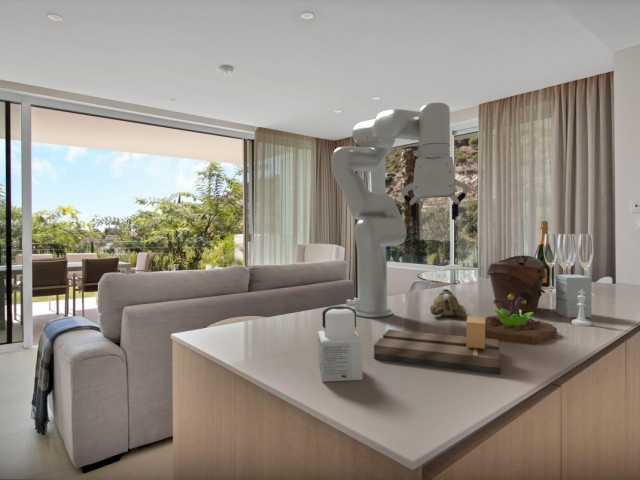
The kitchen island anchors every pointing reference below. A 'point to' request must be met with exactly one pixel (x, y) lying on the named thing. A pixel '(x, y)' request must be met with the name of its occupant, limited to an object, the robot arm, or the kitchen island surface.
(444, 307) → the ceramic sculpture
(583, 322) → the chess piece
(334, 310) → the container
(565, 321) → the kitchen island surface
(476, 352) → the slider console
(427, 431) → the kitchen island surface
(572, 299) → the supplement box
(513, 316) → the plant
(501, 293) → the brown flower pot
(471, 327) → the fader tab
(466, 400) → the kitchen island surface
